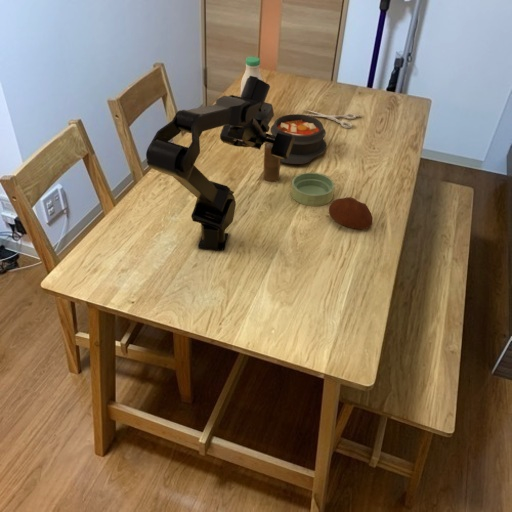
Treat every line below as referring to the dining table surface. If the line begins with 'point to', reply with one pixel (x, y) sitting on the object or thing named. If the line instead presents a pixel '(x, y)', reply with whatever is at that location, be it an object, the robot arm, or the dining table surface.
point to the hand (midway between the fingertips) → (265, 149)
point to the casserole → (301, 137)
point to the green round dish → (312, 189)
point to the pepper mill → (270, 165)
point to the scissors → (337, 117)
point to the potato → (351, 213)
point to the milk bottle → (251, 70)
